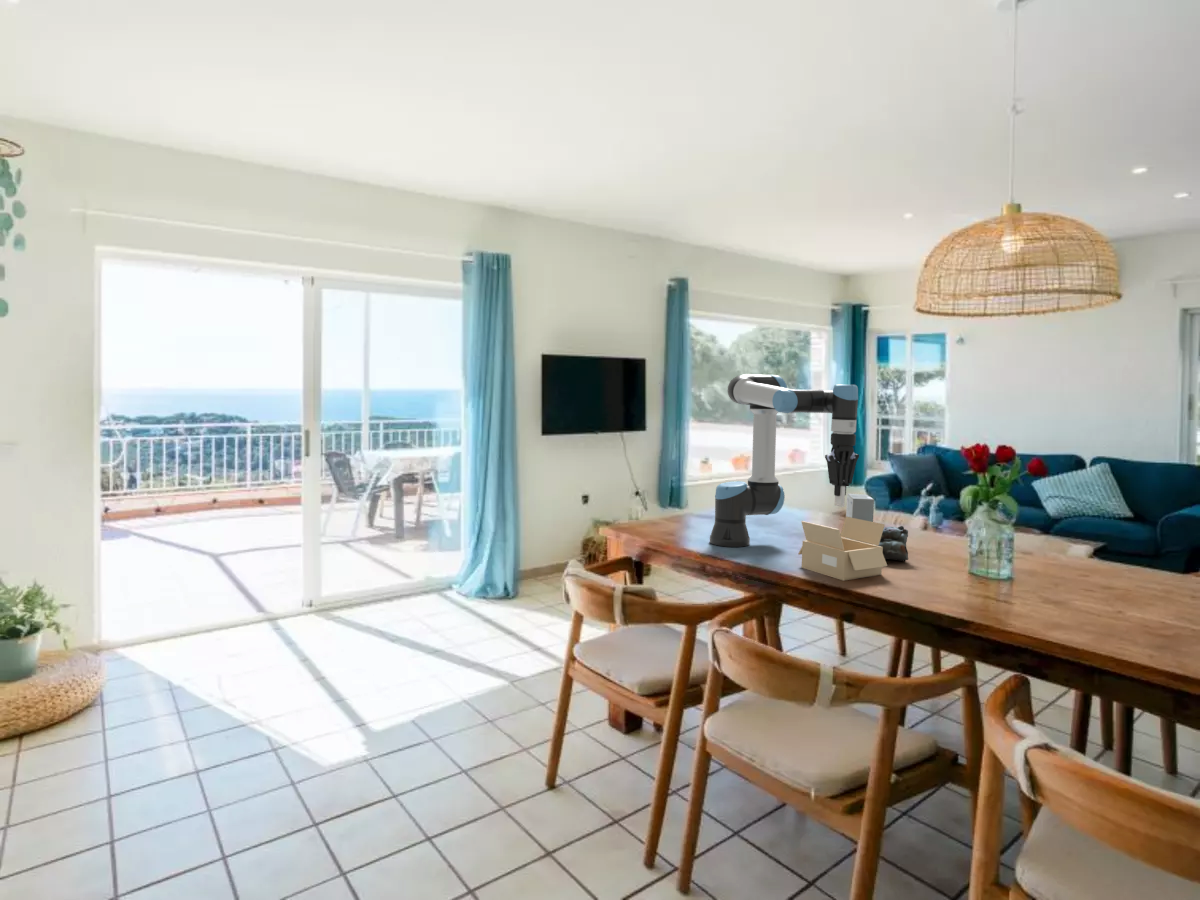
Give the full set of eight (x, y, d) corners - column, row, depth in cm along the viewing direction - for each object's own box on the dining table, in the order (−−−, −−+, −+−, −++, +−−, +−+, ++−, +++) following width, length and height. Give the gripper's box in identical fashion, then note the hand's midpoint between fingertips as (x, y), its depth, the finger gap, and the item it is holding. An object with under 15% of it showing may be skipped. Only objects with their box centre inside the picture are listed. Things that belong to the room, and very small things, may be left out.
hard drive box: (872, 554, 255) (874, 499, 254) (850, 552, 257) (852, 498, 255) (865, 545, 270) (867, 493, 269) (844, 544, 272) (846, 492, 270)
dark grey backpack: (857, 558, 248) (860, 521, 253) (880, 568, 253) (882, 532, 258) (893, 554, 235) (896, 515, 241) (917, 565, 240) (919, 526, 245)
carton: (794, 565, 236) (795, 538, 235) (831, 560, 244) (832, 534, 243) (851, 583, 215) (852, 554, 214) (890, 577, 222) (891, 549, 222)
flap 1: (807, 539, 232) (806, 540, 232) (802, 520, 230) (801, 521, 230) (844, 549, 218) (843, 549, 218) (839, 529, 216) (838, 529, 216)
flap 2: (877, 545, 225) (878, 545, 225) (884, 524, 226) (884, 524, 226) (839, 536, 239) (840, 536, 239) (845, 516, 240) (846, 516, 240)
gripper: (837, 434, 219) (833, 509, 221) (867, 433, 225) (863, 506, 227) (819, 432, 225) (815, 505, 228) (849, 431, 231) (845, 502, 234)
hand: (839, 505), depth 227 cm, fingers closed
